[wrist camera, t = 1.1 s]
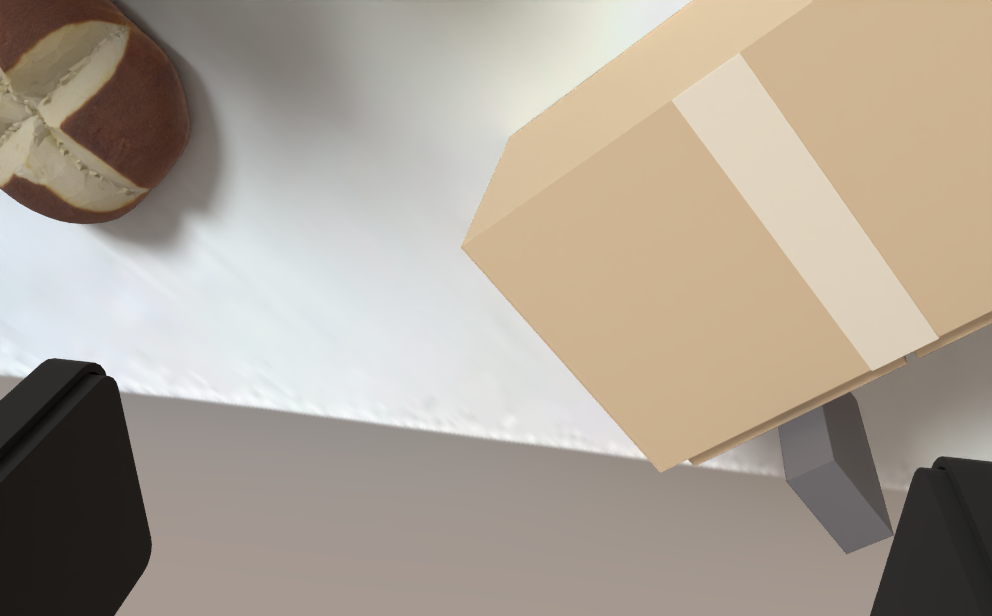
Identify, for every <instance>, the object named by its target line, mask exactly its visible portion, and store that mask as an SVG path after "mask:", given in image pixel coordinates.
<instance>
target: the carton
mask: <svg viewBox="0 0 992 616" xmlns="http://www.w3.org/2000/svg"><path fill="white" fill-rule="evenodd" d="M461 248H462V249H463V250H464V251H465V253H466V254H467V255H468V256H469V257H470V258H471V259H472V261H473V262H474V263H475V264H476V265H477V266H478V267H479V268H480V270H481V271H482V272H483V273H484V274H485V275H486V276H487V277H488V279H489V280H490V281H491V282H492V283H493V284H494V285H495V287H496V288H497V289H498V290H499V291H500V292H501V293H502V294H503V296H504V297H505V298H506V299H507V300H508V301H509V302H510V303H511V305H512V306H513V307H514V308H515V309H516V310H517V311H518V313H519V314H520V315H521V316H522V317H523V318H524V319H525V320H526V322H527V323H528V324H529V325H530V326H531V327H532V328H533V329H534V331H535V332H536V333H537V334H538V335H539V336H540V337H541V339H542V340H543V341H544V342H545V343H546V344H547V345H548V346H549V348H550V349H551V350H552V351H553V352H554V353H555V354H556V355H557V357H558V358H559V359H560V360H561V361H562V362H563V363H564V365H565V366H566V367H567V368H568V369H569V370H570V371H571V372H572V374H573V375H574V376H575V377H576V378H577V379H578V380H579V381H580V383H581V384H582V385H583V386H584V387H585V388H586V389H587V391H588V392H589V393H590V394H591V395H592V396H593V397H594V398H595V400H596V401H597V402H598V403H599V404H600V405H601V406H602V407H603V409H604V410H605V411H606V412H607V413H608V414H609V415H610V417H611V418H612V419H613V420H614V421H615V422H616V423H617V424H618V426H619V427H620V428H621V429H622V430H623V431H624V432H625V433H626V435H627V436H628V437H629V438H630V439H631V440H632V441H633V442H634V444H635V445H636V446H637V447H638V448H639V449H640V450H641V452H642V453H643V454H644V455H645V456H646V457H647V458H648V459H649V461H650V462H651V463H652V464H653V465H654V466H655V467H656V468H657V470H658V471H659V472H660V473H661V472H663V471H665V470H667V469H669V468H671V467H673V466H675V465H677V464H679V463H681V462H683V461H685V460H688V459H690V458H692V457H694V456H696V455H698V454H700V453H702V452H704V451H706V450H708V449H710V448H712V447H714V446H716V445H718V444H720V443H722V442H724V441H726V440H728V439H731V438H733V437H735V436H737V435H739V434H741V433H743V432H745V431H747V430H749V429H751V428H753V427H755V426H757V425H759V424H761V423H763V422H765V421H767V420H769V419H772V418H774V417H776V416H778V415H780V414H782V413H784V412H786V411H788V410H790V409H792V408H794V407H796V406H798V405H800V404H802V403H804V402H806V401H808V400H810V399H812V398H815V397H817V396H819V395H821V394H823V393H825V392H827V391H829V390H831V389H833V388H835V387H837V386H839V385H841V384H843V383H845V382H847V381H849V380H851V379H853V378H855V377H858V376H860V375H862V374H864V373H866V372H868V371H870V370H872V371H874V370H876V369H878V368H880V367H882V366H884V365H886V364H888V363H890V362H892V361H894V360H896V359H898V358H900V357H902V356H904V355H907V354H909V353H911V352H913V351H915V350H917V349H919V348H921V347H923V346H925V345H927V344H929V343H931V342H933V341H935V340H937V339H939V336H942V335H944V334H946V333H948V332H950V331H952V330H954V329H956V328H958V327H960V326H962V325H964V324H966V323H968V322H970V321H972V320H974V319H976V318H978V317H980V316H982V315H985V314H987V313H989V312H991V311H992V0H693V1H691V2H690V3H689V4H687V5H686V6H685V7H683V8H682V9H680V10H679V11H678V12H676V13H675V14H674V15H672V16H671V17H670V18H668V19H667V20H666V21H664V22H663V23H662V24H660V25H659V26H658V27H656V28H655V29H654V30H652V31H651V32H650V33H648V34H647V35H646V36H644V37H643V38H642V39H640V40H639V41H638V42H636V43H635V44H634V45H632V46H631V47H630V48H628V49H627V50H626V51H624V52H623V53H622V54H620V55H619V56H618V57H616V58H615V59H614V60H612V61H611V62H610V63H608V64H607V65H606V66H604V67H603V68H602V69H600V70H599V71H598V72H596V73H595V74H594V75H592V76H591V77H590V78H588V79H587V80H586V81H584V82H583V83H581V84H580V85H579V86H577V87H576V88H575V89H573V90H572V91H571V92H569V93H568V94H567V95H565V96H564V97H563V98H561V99H560V100H559V101H557V102H556V103H555V104H553V105H552V106H551V107H549V108H548V109H547V110H545V111H544V112H543V113H541V114H540V115H539V116H537V117H536V118H535V119H533V120H532V121H531V122H529V123H528V124H527V125H525V126H524V127H523V128H521V129H520V130H519V131H517V132H516V133H515V134H513V135H512V136H511V137H510V138H509V140H508V142H507V144H506V147H505V149H504V151H503V154H502V156H501V158H500V160H499V163H498V165H497V167H496V169H495V172H494V174H493V176H492V178H491V181H490V183H489V185H488V187H487V190H486V192H485V194H484V196H483V199H482V201H481V203H480V205H479V208H478V210H477V212H476V214H475V217H474V219H473V221H472V223H471V226H470V228H469V230H468V232H467V235H466V237H465V239H464V241H463V244H462V246H461Z"/></svg>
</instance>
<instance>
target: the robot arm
mask: <svg viewBox="0 0 992 616" xmlns="http://www.w3.org/2000/svg"><path fill="white" fill-rule="evenodd" d="M151 547H152V543H151V536H150V531H149V526H148V522H147V517H146V513H145V508H144V503H143V499H142V495H141V490H140V485H139V481H138V476H137V471H136V467H135V463H134V458H133V453H132V449H131V444H130V439H129V435H128V430H127V426H126V421H125V417H124V412H123V408H122V403H121V398H120V393H119V389H118V386H117V383H116V381H115V380H114V379H113V378H112V377H110V376H106V373H105V370H104V369H103V368H102V367H101V365H99V364H97V363H93V362H83V361H74V360H65V359H56V358H53V359H48V360H46V361H44V362H43V363H41V364H40V365H39V366H38V367H37V368H36V369H35V370H34V371H32V372H31V373H30V374H29V375H28V376H27V377H26V378H25V379H24V380H23V381H21V382H20V383H19V384H18V385H17V386H16V387H15V388H14V389H13V390H12V391H11V392H9V393H8V394H7V395H6V396H5V397H4V398H3V399H2V400H0V616H114V615H115V614H116V612H117V611H118V609H119V608H120V606H121V605H122V603H123V602H124V600H125V599H126V597H127V596H128V594H129V593H130V591H131V590H132V588H133V587H134V585H135V584H136V583H137V581H138V580H139V578H140V577H141V575H142V574H143V572H144V570H145V569H146V567H147V565H148V562H149V559H150V555H151ZM870 616H992V462H989V461H980V460H971V459H962V458H953V457H944V456H942V457H939V458H937V459H936V461H935V462H934V463H933V466H932V468H922V467H921V468H918V469H917V470H916V472H915V473H914V476H913V478H912V482H911V485H910V488H909V491H908V495H907V498H906V501H905V504H904V508H903V511H902V514H901V517H900V521H899V524H898V527H897V530H896V534H895V537H894V540H893V543H892V546H891V550H890V553H889V556H888V559H887V563H886V566H885V569H884V572H883V575H882V579H881V582H880V585H879V589H878V592H877V595H876V598H875V601H874V605H873V608H872V611H871V614H870Z"/></svg>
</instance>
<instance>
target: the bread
mask: <svg viewBox="0 0 992 616" xmlns="http://www.w3.org/2000/svg"><path fill="white" fill-rule="evenodd" d="M190 130H191V129H190V119H189V114H188V108H187V103H186V99H185V95H184V91H183V87H182V84H181V81H180V78H179V76H178V73H177V71H176V69H175V67H174V65H173V63H172V62H171V60H170V59H169V57H168V56H167V55H166V54H165V52H164V51H163V50H162V49H161V48H160V47H159V46H158V45H157V44H156V43H155V42H154V41H153V40H152V39H151V38H150V37H148V36H147V35H146V34H144V33H143V32H142V31H141V30H140V29H139V28H138V27H137V26H136V25H135V24H134V23H133V22H131V21H130V20H129V19H128V18H127V17H126V16H125V15H124V14H123V13H122V12H121V11H120V9H119V8H118V7H117V6H116V5H115V4H114V3H112V2H111V1H110V0H0V189H1V190H3V191H4V192H5V193H7V194H8V195H9V196H10V197H12V198H13V199H15V200H16V201H17V202H19V203H20V204H22V205H24V206H26V207H27V208H29V209H31V210H33V211H35V212H37V213H39V214H42V215H44V216H47V217H49V218H52V219H56V220H59V221H63V222H68V223H77V224H93V223H103V222H108V221H111V220H114V219H118V218H120V217H121V216H123V215H125V214H126V213H128V212H130V211H131V210H132V209H134V208H135V207H136V206H137V205H138V204H139V203H140V202H141V201H142V199H143V198H144V197H145V196H146V195H147V194H148V193H149V191H150V190H151V189H152V188H154V187H155V186H157V185H158V184H159V183H160V182H161V181H162V180H163V179H164V177H165V176H166V175H167V174H168V172H169V171H170V170H171V168H172V167H173V165H174V164H175V162H176V161H177V160H178V158H179V157H180V155H181V154H182V152H183V151H184V149H185V147H186V145H187V143H188V140H189V137H190Z"/></svg>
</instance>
